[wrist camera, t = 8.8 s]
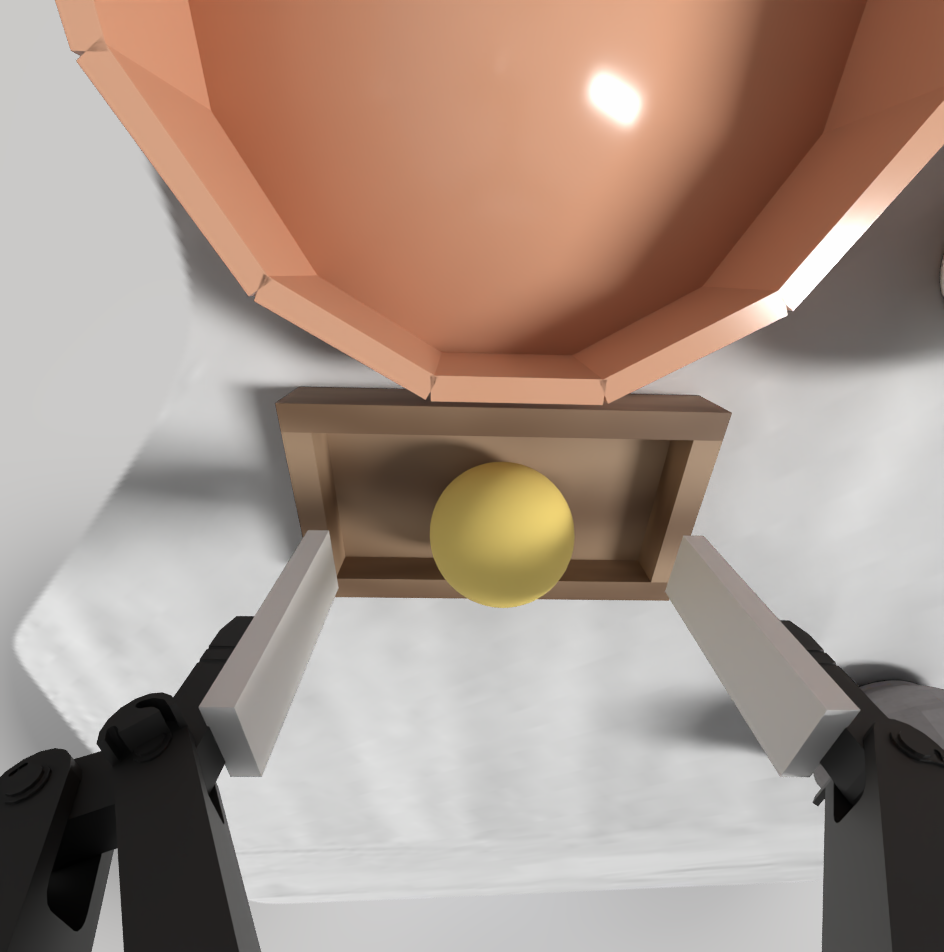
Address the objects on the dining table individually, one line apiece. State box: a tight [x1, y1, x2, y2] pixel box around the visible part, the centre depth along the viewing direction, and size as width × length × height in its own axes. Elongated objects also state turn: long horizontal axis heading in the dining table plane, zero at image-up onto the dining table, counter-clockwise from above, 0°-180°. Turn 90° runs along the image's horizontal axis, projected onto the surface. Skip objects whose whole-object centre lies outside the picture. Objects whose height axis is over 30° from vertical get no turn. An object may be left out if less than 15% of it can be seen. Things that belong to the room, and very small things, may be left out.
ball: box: [430, 462, 575, 608], centre depth 17 cm, size 6×6×6 cm
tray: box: [275, 387, 732, 601], centre depth 19 cm, size 10×18×2 cm, turn 89°
